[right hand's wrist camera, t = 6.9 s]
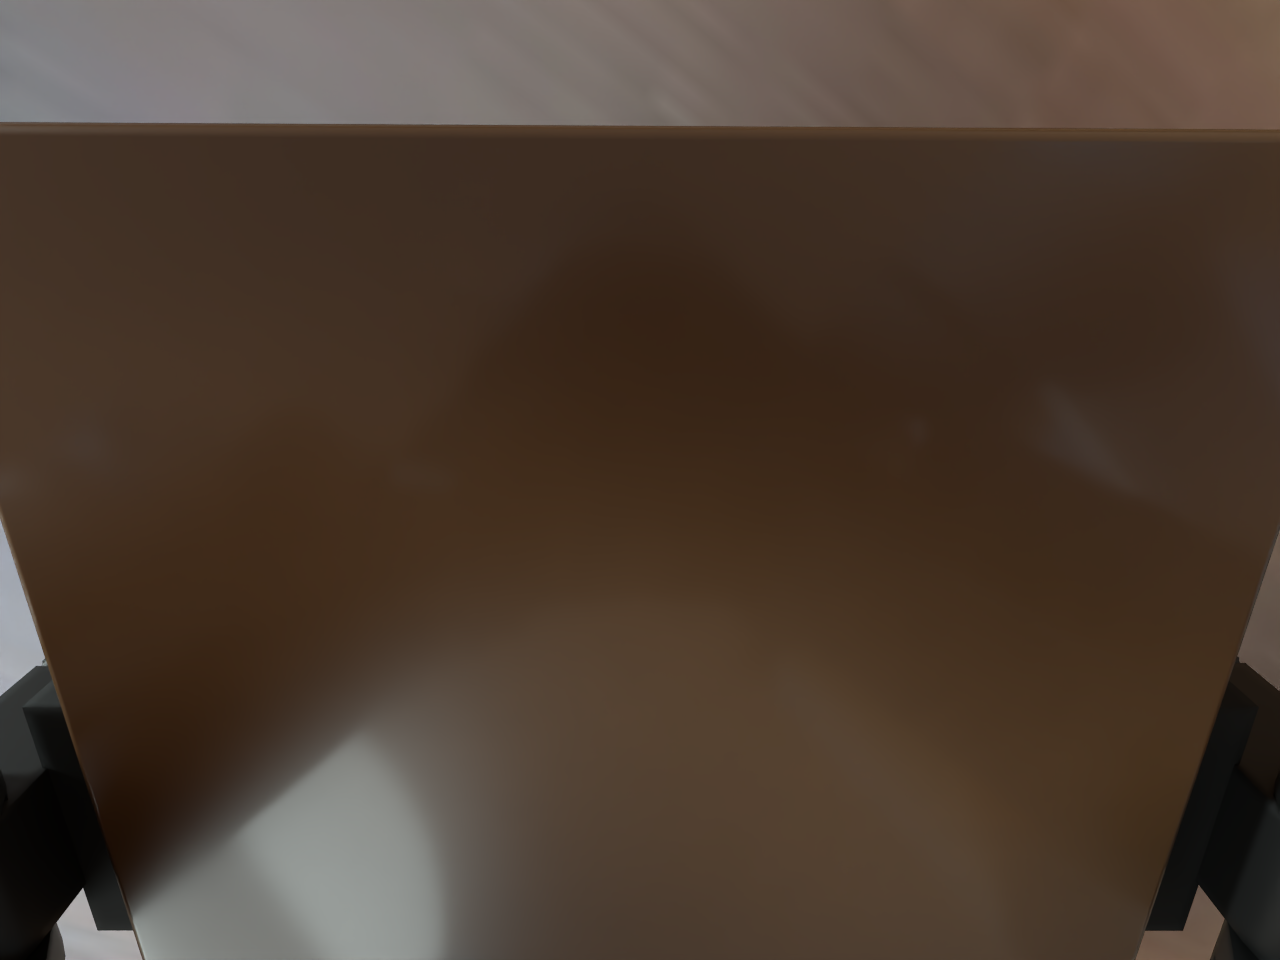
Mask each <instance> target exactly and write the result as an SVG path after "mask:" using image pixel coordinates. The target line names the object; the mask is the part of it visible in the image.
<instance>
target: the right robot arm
mask: <svg viewBox="0 0 1280 960" xmlns="http://www.w3.org/2000/svg"><path fill="white" fill-rule="evenodd" d="M1198 885H1199V886H1200V887H1201V888H1202V889H1203V891H1204V892H1205V893H1206V895H1207V896H1208V897H1209V899H1210V900H1211V901H1212V902H1213V904H1214V905H1215V906H1216V908H1217V909H1218V910H1219V912H1220V913H1221V914H1222V915H1223V917H1224V918H1225V920H1224V923H1223V926H1222V928H1221V931H1220V934H1219V937H1218V939H1217V942H1216V945H1215V948H1214V950H1213V953H1212V956H1211V959H1210V960H1280V692H1279V691H1278V690H1277V689H1276V688H1275V687H1273V686H1272V685H1271V684H1270V683H1269V682H1267V681H1266V680H1265V679H1264V678H1263V677H1261V676H1260V675H1259V674H1258V673H1257V672H1255V671H1254V670H1253V669H1252V668H1251V667H1249V666H1248V665H1247V664H1246V663H1240V662H1239V657H1237V658H1236V661H1235V664H1234V667H1233V670H1232V673H1231V676H1230V679H1229V682H1228V685H1227V688H1226V691H1225V694H1224V697H1223V700H1222V703H1221V706H1220V709H1219V712H1218V715H1217V717H1216V720H1215V723H1214V726H1213V729H1212V732H1211V735H1210V738H1209V741H1208V744H1207V747H1206V750H1205V753H1204V756H1203V759H1202V762H1201V765H1200V768H1199V771H1198V774H1197V777H1196V780H1195V783H1194V786H1193V789H1192V792H1191V795H1190V798H1189V801H1188V804H1187V807H1186V810H1185V813H1184V816H1183V819H1182V822H1181V825H1180V828H1179V831H1178V834H1177V837H1176V840H1175V843H1174V846H1173V848H1172V851H1171V854H1170V857H1169V860H1168V863H1167V866H1166V869H1165V872H1164V875H1163V878H1162V881H1161V884H1160V887H1159V890H1158V893H1157V896H1156V899H1155V902H1154V905H1153V908H1152V911H1151V914H1150V917H1149V920H1148V923H1147V926H1146V929H1145V931H1183V929H1184V926H1185V923H1186V920H1187V917H1188V914H1189V911H1190V908H1191V905H1192V902H1193V899H1194V896H1195V894H1196V891H1197V888H1198ZM82 888H84V891H85V894H86V897H87V900H88V903H89V906H90V909H91V912H92V915H93V918H94V921H95V924H96V927H97V930H133V928H132V925H131V922H130V919H129V916H128V913H127V909H126V906H125V903H124V900H123V897H122V894H121V891H120V888H119V885H118V882H117V878H116V875H115V872H114V869H113V866H112V863H111V860H110V857H109V854H108V851H107V848H106V844H105V841H104V838H103V835H102V832H101V829H100V826H99V823H98V820H97V817H96V813H95V810H94V807H93V804H92V801H91V798H90V795H89V792H88V789H87V786H86V782H85V779H84V776H83V773H82V770H81V767H80V764H79V761H78V758H77V755H76V751H75V748H74V745H73V742H72V739H71V736H70V733H69V730H68V727H67V724H66V720H65V717H64V714H63V711H62V708H61V705H60V702H59V699H58V696H57V693H56V690H55V686H54V683H53V680H52V677H51V674H50V671H49V668H48V665H47V662H46V659H44V660H43V664H42V666H36V667H35V668H33V669H32V670H31V671H30V672H29V673H27V674H26V675H25V676H24V677H23V678H21V679H20V680H19V681H18V682H17V683H15V684H14V685H13V686H12V687H11V688H10V689H8V690H7V691H6V692H5V693H4V694H2V695H1V696H0V960H65V951H64V946H63V940H62V937H61V934H60V931H59V928H58V926H57V923H56V922H57V921H58V920H59V918H60V917H61V916H62V914H63V913H64V912H65V910H66V909H67V908H68V906H69V905H70V904H71V903H72V901H73V900H74V899H75V897H76V896H77V895H78V893H79V892H80V891H81V889H82Z"/></svg>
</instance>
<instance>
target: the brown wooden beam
mask: <svg viewBox="0 0 1280 960" xmlns="http://www.w3.org/2000/svg"><path fill="white" fill-rule="evenodd" d="M0 519H1V522H2V525H3V528H4V532H5V535H6V538H7V541H8V544H9V547H10V550H11V553H12V556H13V559H14V562H15V566H16V569H17V572H18V575H19V578H20V581H21V584H22V587H23V590H24V593H25V597H26V600H27V603H28V606H29V609H30V612H31V615H32V618H33V621H34V624H35V628H36V631H37V634H38V637H39V640H40V643H41V646H42V649H43V652H44V655H45V659H46V662H47V665H48V668H49V671H50V674H51V677H52V680H53V683H54V686H55V690H56V693H57V696H58V699H59V702H60V705H61V708H62V711H63V714H64V717H65V720H66V724H67V727H68V730H69V733H70V736H71V739H72V742H73V745H74V748H75V751H76V755H77V758H78V761H79V764H80V767H81V770H82V773H83V776H84V779H85V782H86V786H87V789H88V792H89V795H90V798H91V801H92V804H93V807H94V810H95V813H96V817H97V820H98V823H99V826H100V829H101V832H102V835H103V838H104V841H105V844H106V848H107V851H108V854H109V857H110V860H111V863H112V866H113V869H114V872H115V875H116V878H117V882H118V885H119V888H120V891H121V894H122V897H123V900H124V903H125V906H126V909H127V913H128V916H129V919H130V922H131V925H132V928H133V931H134V934H135V937H136V940H137V944H138V947H139V950H140V953H141V956H142V959H143V960H1135V959H1136V956H1137V953H1138V950H1139V947H1140V944H1141V941H1142V938H1143V935H1144V932H1145V929H1146V926H1147V923H1148V920H1149V917H1150V914H1151V911H1152V908H1153V905H1154V902H1155V899H1156V896H1157V893H1158V890H1159V887H1160V884H1161V881H1162V878H1163V875H1164V872H1165V869H1166V866H1167V863H1168V860H1169V857H1170V854H1171V851H1172V848H1173V846H1174V843H1175V840H1176V837H1177V834H1178V831H1179V828H1180V825H1181V822H1182V819H1183V816H1184V813H1185V810H1186V807H1187V804H1188V801H1189V798H1190V795H1191V792H1192V789H1193V786H1194V783H1195V780H1196V777H1197V774H1198V771H1199V768H1200V765H1201V762H1202V759H1203V756H1204V753H1205V750H1206V747H1207V744H1208V741H1209V738H1210V735H1211V732H1212V729H1213V726H1214V723H1215V720H1216V717H1217V715H1218V712H1219V709H1220V706H1221V703H1222V700H1223V697H1224V694H1225V691H1226V688H1227V685H1228V682H1229V679H1230V676H1231V673H1232V670H1233V667H1234V664H1235V661H1236V658H1237V655H1238V652H1239V649H1240V646H1241V643H1242V640H1243V637H1244V634H1245V631H1246V628H1247V625H1248V622H1249V619H1250V616H1251V613H1252V610H1253V607H1254V604H1255V601H1256V598H1257V595H1258V592H1259V589H1260V586H1261V584H1262V581H1263V578H1264V575H1265V572H1266V569H1267V566H1268V563H1269V560H1270V557H1271V554H1272V551H1273V548H1274V545H1275V542H1276V539H1277V536H1278V533H1279V530H1280V130H1247V129H1077V128H907V127H737V126H567V125H398V124H228V123H58V122H0Z"/></svg>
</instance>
